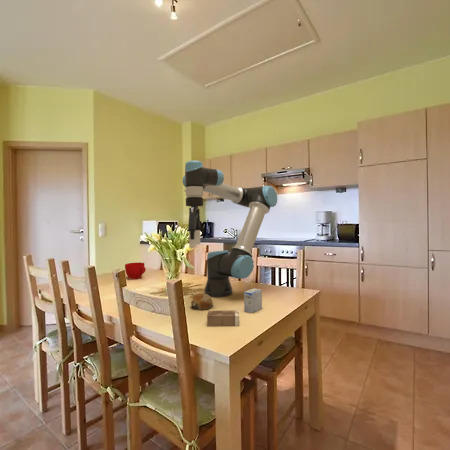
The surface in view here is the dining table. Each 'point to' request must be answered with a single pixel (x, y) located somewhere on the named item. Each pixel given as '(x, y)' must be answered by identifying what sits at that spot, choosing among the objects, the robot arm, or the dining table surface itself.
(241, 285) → the dining table surface
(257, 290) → the medicine box
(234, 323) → the walnut block
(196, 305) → the bread roll
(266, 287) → the dining table surface
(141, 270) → the ceramic cup
